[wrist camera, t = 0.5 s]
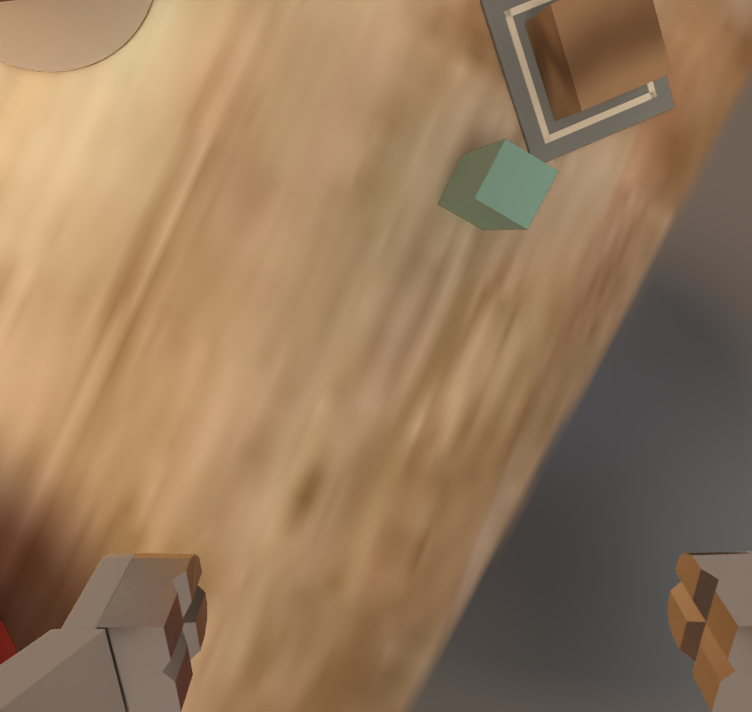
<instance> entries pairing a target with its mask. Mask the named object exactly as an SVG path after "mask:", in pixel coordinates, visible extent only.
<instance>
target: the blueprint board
mask: <svg viewBox="0 0 752 712" xmlns="http://www.w3.org/2000/svg"><path fill="white" fill-rule="evenodd" d="M556 1H559V0H481V1H480V3H481V6H482V9H483V12H484V15H485V18H486V22H487V25H488V28H489V31H490V34H491V37H492V40H493V43H494V46H495V50H496V53H497V56H498V59H499V62H500V65H501V68H502V71H503V74H504V77H505V81H506V84H507V87H508V90H509V93H510V96H511V99H512V102H513V105H514V108H515V112H516V115H517V118H518V121H519V124H520V127H521V130H522V133H523V136H524V140H525V143H526V146H527V149H528V152H529V153H530V154H531V155H533V156H534V157H536V158H538V159H539V160H541V161H542V162H544V163H545V162H548V161H550V160H552V159H555V158H557V157H560V156H562V155H564V154H567V153H569V152H571V151H574V150H576V149H578V148H581V147H583V146H585V145H588V144H590V143H592V142H595V141H597V140H599V139H602V138H604V137H606V136H609V135H611V134H613V133H616V132H618V131H620V130H623V129H625V128H627V127H630V126H632V125H635V124H637V123H639V122H642V121H644V120H646V119H649V118H651V117H653V116H656V115H658V114H660V113H663V112H665V111H667V110H670V109H672V108H674V107H675V106H674V103H673V99H672V95H671V91H670V87H669V83H668V79H667V76H664V77H662V78H659V79H657V80H654V81H652V82H650V83H647V84H645V85H643V86H640V87H638V88H635V89H633V90H631V91H628V92H626V93H623V94H621V95H619V96H616V97H614V98H612V99H609V100H607V101H604V102H602V103H600V104H597V105H595V106H593V107H590V108H588V109H585V110H583V111H581V112H578V113H575V114H572V115H570V116H567V117H564V118H562V119H559V120H556V121H554V117H553V114H552V111H551V108H550V104H549V101H548V98H547V95H546V91H545V88H544V85H543V82H542V78H541V75H540V72H539V69H538V66H537V62H536V59H535V56H534V53H533V49H532V46H531V43H530V40H529V36H528V33H527V30H526V27H525V23H526V22H528V21H529V20H530V19H531V18H533V17H534V16H535V15H537V14H538V13H539V12H540V11H542V10H543V9H544V8H546V7H547V6H548V5H549V4H551V3H554V2H556Z"/></svg>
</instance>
